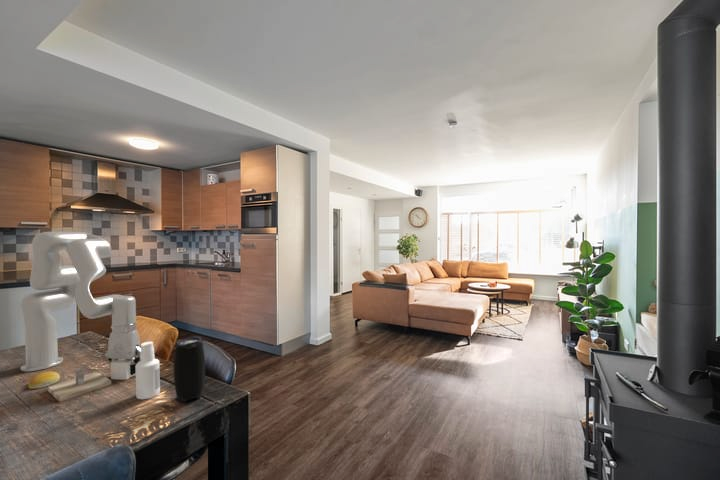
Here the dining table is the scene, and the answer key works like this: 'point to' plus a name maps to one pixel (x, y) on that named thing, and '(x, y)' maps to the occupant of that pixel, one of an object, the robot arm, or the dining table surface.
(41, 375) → the bread roll
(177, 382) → the portable speaker
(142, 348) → the white plastic bottle
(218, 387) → the dining table surface
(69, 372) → the dining table surface
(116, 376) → the white slotted cube
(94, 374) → the beige square plate
